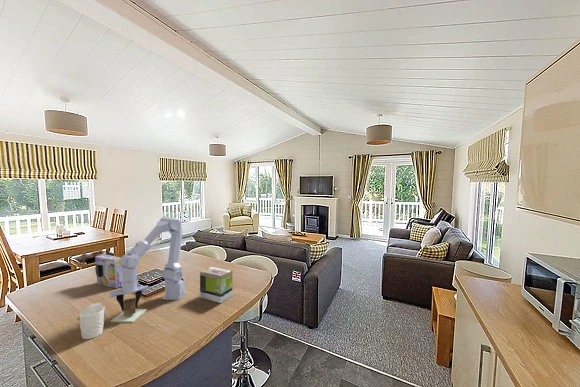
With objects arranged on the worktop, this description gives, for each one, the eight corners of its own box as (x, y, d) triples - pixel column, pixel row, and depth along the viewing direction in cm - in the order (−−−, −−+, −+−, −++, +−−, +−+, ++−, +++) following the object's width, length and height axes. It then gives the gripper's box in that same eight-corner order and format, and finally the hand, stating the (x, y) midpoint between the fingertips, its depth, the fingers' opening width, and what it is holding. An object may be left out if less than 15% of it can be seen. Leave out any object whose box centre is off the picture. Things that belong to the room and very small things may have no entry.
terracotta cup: (107, 314, 110) (107, 305, 110) (100, 319, 106) (100, 310, 106) (99, 314, 111) (99, 305, 110) (91, 319, 107) (91, 309, 106)
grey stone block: (101, 310, 114) (101, 302, 114) (98, 314, 110) (97, 306, 110) (91, 311, 113) (91, 303, 113) (87, 316, 109) (87, 308, 109)
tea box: (232, 295, 131) (233, 270, 131) (220, 304, 122) (220, 276, 121) (212, 290, 138) (212, 265, 137) (199, 297, 128) (199, 271, 128)
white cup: (89, 328, 100) (89, 305, 100) (109, 327, 101) (108, 305, 100) (74, 340, 92) (73, 316, 92) (95, 340, 93) (95, 315, 92)
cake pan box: (94, 283, 143) (94, 255, 142) (103, 280, 148) (103, 253, 147) (114, 289, 136) (114, 259, 135) (123, 286, 141) (123, 257, 140)
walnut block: (135, 308, 113) (135, 297, 113) (135, 313, 109) (135, 301, 109) (124, 311, 111) (124, 299, 110) (123, 315, 107) (123, 303, 107)
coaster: (147, 310, 115) (147, 309, 115) (133, 322, 105) (133, 321, 105) (126, 309, 115) (126, 308, 115) (111, 321, 105) (111, 320, 105)
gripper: (147, 274, 116) (147, 301, 117) (111, 280, 109) (111, 308, 109) (147, 279, 110) (147, 307, 111) (109, 285, 103) (109, 316, 103)
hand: (129, 308), depth 110 cm, fingers closed on walnut block, 4 cm apart
